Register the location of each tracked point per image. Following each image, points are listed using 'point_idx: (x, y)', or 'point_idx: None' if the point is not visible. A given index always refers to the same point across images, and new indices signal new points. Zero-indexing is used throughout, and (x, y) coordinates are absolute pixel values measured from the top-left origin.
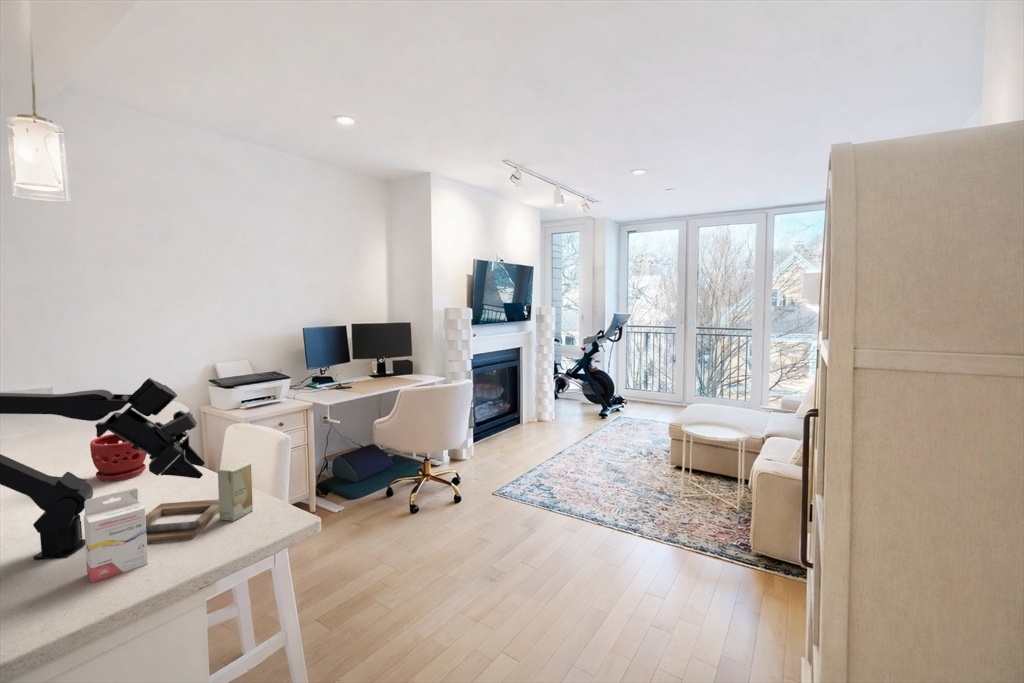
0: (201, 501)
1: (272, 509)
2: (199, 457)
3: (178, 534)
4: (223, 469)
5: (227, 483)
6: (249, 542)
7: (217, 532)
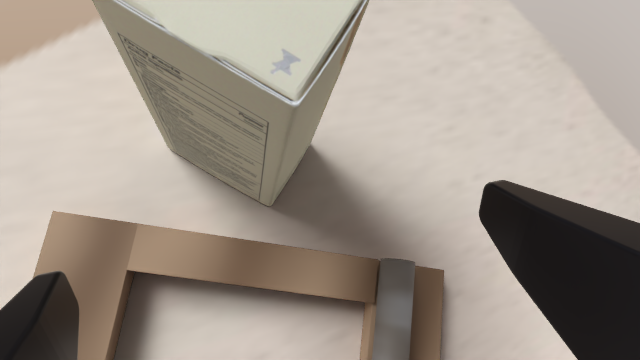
0: None
1: None
2: (16, 336)
3: (436, 328)
4: (299, 59)
5: (331, 82)
6: (502, 67)
7: (396, 188)
